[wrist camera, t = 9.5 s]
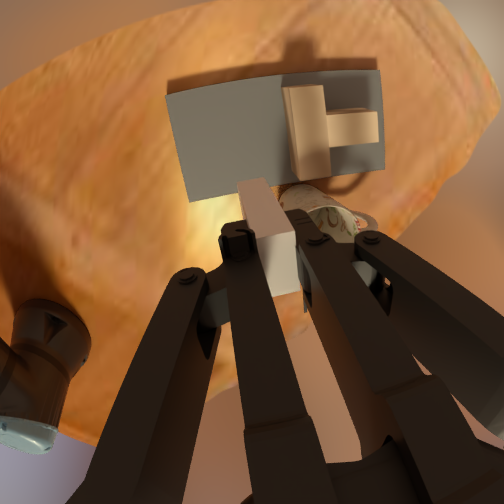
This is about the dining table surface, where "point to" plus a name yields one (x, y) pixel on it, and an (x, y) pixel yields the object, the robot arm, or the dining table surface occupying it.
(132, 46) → the dining table surface
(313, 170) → the t block
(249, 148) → the board
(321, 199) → the mug
